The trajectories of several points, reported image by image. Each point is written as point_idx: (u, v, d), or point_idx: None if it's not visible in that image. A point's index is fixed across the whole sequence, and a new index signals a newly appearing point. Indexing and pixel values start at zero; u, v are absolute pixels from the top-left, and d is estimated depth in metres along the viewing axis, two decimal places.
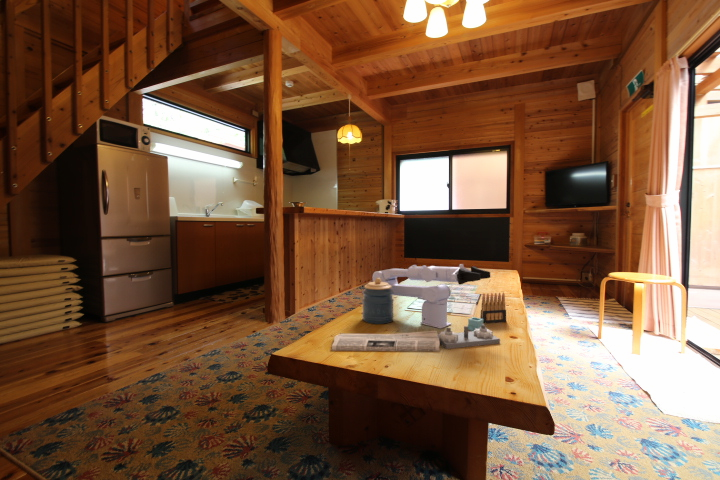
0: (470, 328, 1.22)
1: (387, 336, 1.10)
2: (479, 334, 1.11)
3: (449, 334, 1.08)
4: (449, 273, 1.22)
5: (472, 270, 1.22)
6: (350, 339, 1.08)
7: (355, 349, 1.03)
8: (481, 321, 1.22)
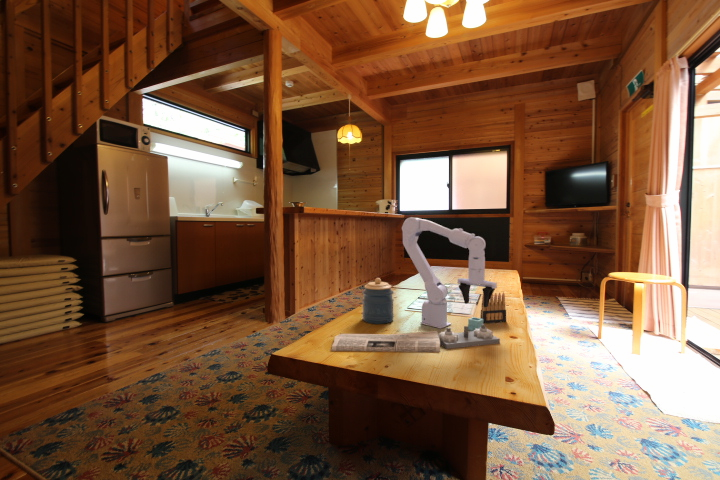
0: (470, 328, 1.22)
1: (387, 336, 1.10)
2: (479, 334, 1.11)
3: (449, 334, 1.08)
4: (484, 272, 1.21)
5: (468, 285, 1.26)
6: (350, 339, 1.07)
7: (355, 349, 1.03)
8: (481, 321, 1.22)
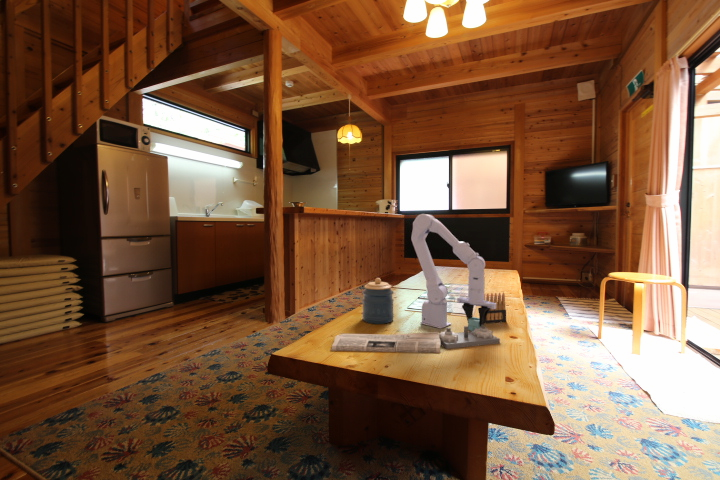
0: (470, 328, 1.22)
1: (388, 337, 1.09)
2: (479, 334, 1.11)
3: (449, 334, 1.08)
4: None
5: (472, 305, 1.25)
6: (350, 339, 1.07)
7: (355, 349, 1.03)
8: None
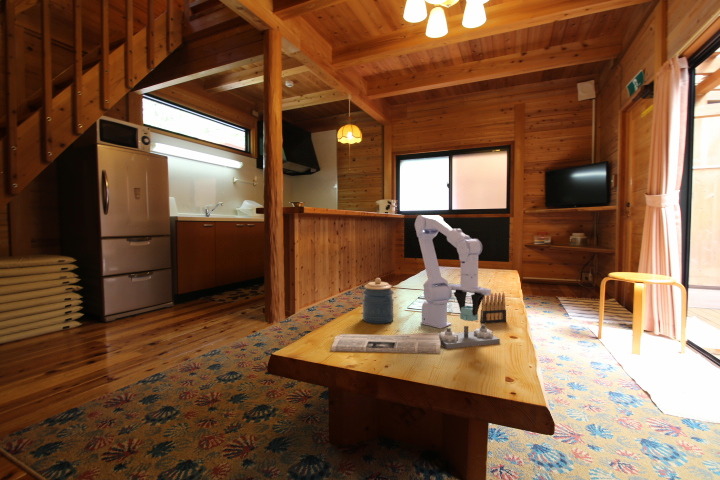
0: (463, 317, 1.12)
1: (387, 337, 1.09)
2: (479, 334, 1.11)
3: (449, 334, 1.08)
4: (477, 278, 1.11)
5: (465, 292, 1.15)
6: (350, 340, 1.07)
7: (354, 350, 1.02)
8: None
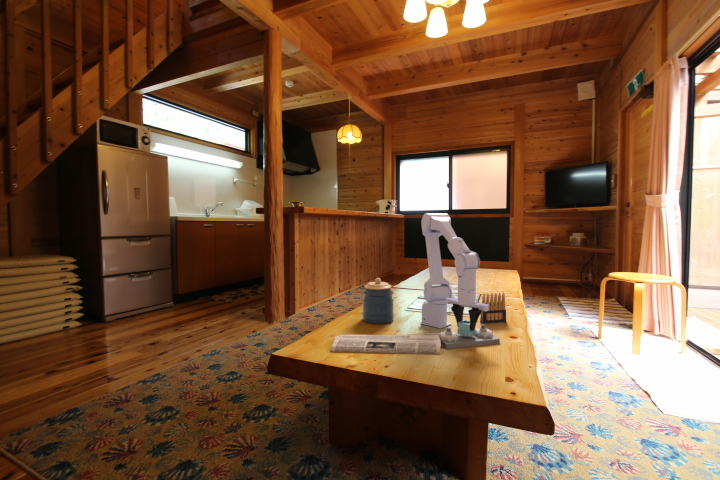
0: (460, 332, 1.10)
1: (388, 337, 1.09)
2: (479, 334, 1.11)
3: (449, 334, 1.08)
4: (475, 292, 1.09)
5: (462, 307, 1.13)
6: (350, 340, 1.07)
7: (354, 350, 1.02)
8: None
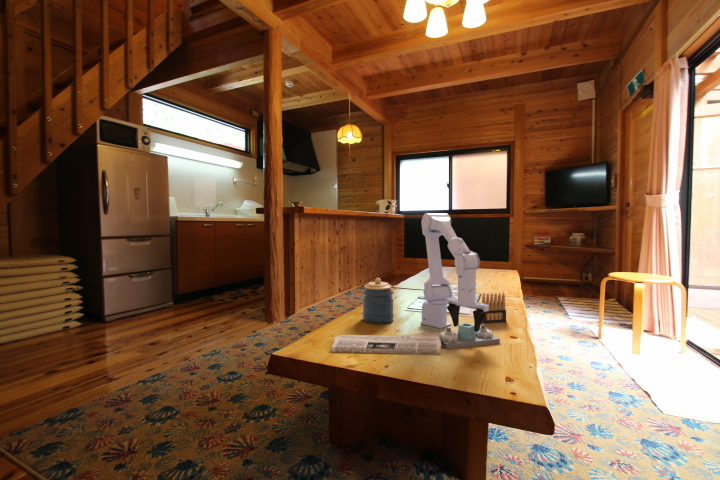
0: (460, 335, 1.10)
1: (388, 338, 1.08)
2: (479, 334, 1.11)
3: (449, 334, 1.08)
4: (475, 293, 1.09)
5: (458, 306, 1.14)
6: (349, 341, 1.06)
7: (354, 351, 1.02)
8: (472, 327, 1.10)
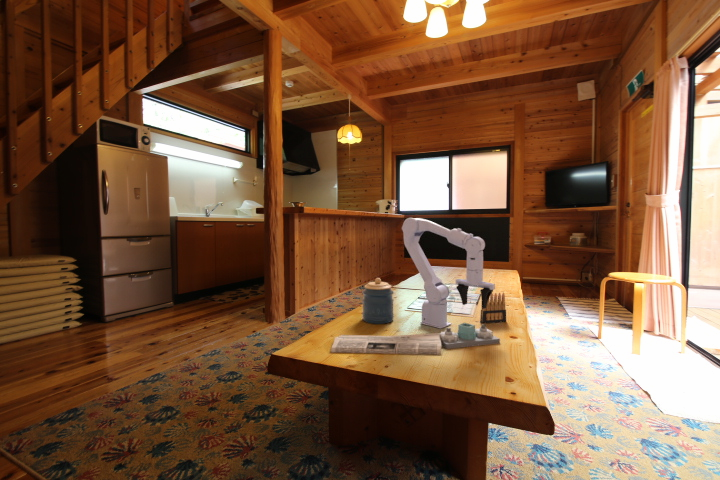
0: (460, 335, 1.10)
1: (388, 338, 1.08)
2: (479, 334, 1.11)
3: (449, 334, 1.08)
4: (482, 273, 1.19)
5: (467, 286, 1.24)
6: (350, 341, 1.06)
7: (355, 351, 1.01)
8: (472, 327, 1.10)
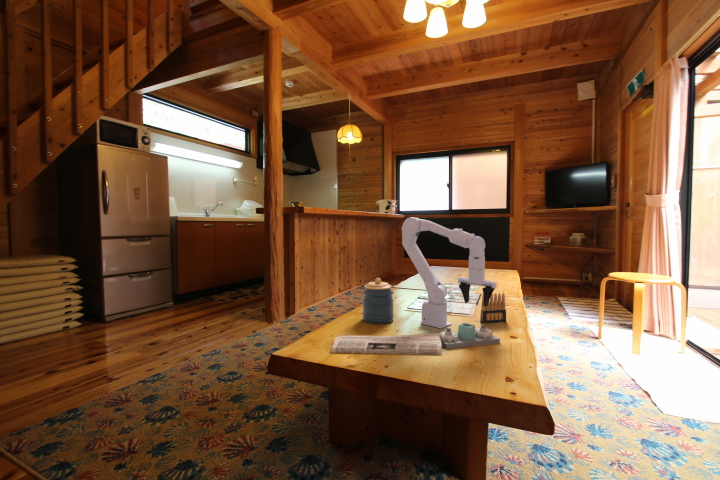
0: (460, 335, 1.10)
1: (388, 338, 1.08)
2: (479, 334, 1.11)
3: (449, 334, 1.08)
4: (484, 272, 1.22)
5: (468, 285, 1.27)
6: (350, 341, 1.06)
7: (355, 351, 1.01)
8: (472, 327, 1.10)
